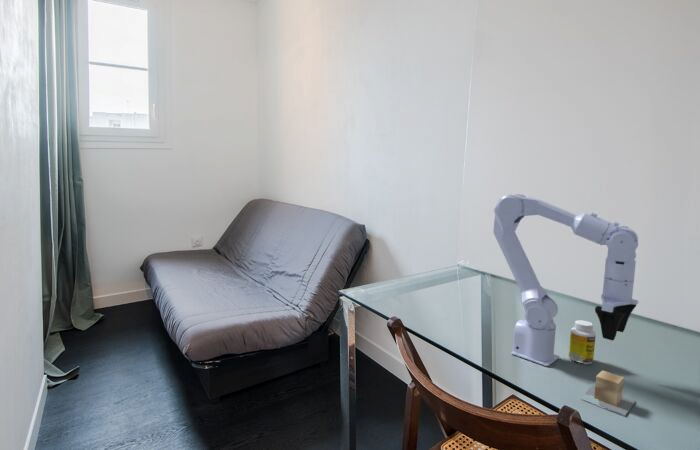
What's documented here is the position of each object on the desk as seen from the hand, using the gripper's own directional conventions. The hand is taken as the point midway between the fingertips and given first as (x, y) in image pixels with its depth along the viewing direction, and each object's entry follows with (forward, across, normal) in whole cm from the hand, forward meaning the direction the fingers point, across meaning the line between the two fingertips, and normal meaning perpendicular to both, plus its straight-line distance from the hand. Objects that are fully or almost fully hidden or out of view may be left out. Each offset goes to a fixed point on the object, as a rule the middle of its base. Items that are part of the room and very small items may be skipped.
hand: (613, 334), depth 91 cm
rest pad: (+10, -12, -3) cm, 17 cm away
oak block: (+10, -12, -3) cm, 16 cm away
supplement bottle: (+11, +4, +8) cm, 14 cm away
